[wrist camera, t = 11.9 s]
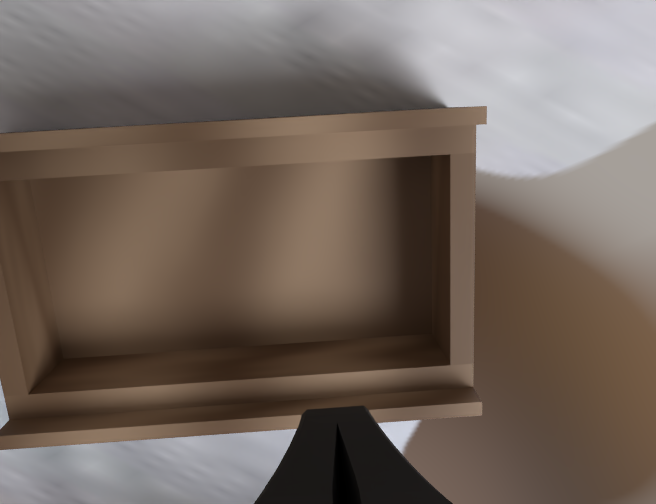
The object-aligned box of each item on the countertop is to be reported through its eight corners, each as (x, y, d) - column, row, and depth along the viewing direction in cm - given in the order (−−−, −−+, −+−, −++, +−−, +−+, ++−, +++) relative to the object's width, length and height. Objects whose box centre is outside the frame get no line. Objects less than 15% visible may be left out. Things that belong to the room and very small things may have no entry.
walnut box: (448, 107, 20) (486, 106, 16) (448, 358, 23) (481, 415, 18) (6, 132, 20) (-76, 138, 16) (55, 385, 22) (-4, 450, 18)
